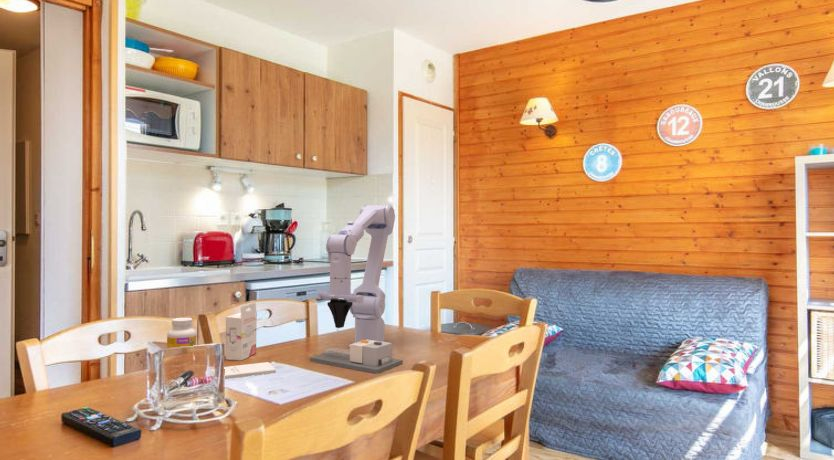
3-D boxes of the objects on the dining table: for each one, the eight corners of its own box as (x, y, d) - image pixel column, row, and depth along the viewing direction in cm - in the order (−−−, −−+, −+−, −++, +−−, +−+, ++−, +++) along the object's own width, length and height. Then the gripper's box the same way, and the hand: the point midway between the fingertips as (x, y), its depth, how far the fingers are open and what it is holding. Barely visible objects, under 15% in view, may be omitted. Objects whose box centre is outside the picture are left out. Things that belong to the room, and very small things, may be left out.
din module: (366, 355, 149) (366, 337, 149) (378, 357, 147) (378, 339, 147) (349, 361, 143) (350, 342, 142) (361, 363, 140) (362, 343, 140)
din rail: (333, 352, 153) (333, 347, 153) (389, 362, 143) (389, 356, 143) (324, 355, 150) (324, 349, 150) (381, 365, 140) (381, 359, 140)
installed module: (379, 358, 147) (379, 338, 147) (391, 360, 145) (392, 340, 145) (362, 364, 141) (363, 343, 140) (375, 366, 138) (375, 345, 138)
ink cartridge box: (240, 352, 155) (241, 301, 155) (256, 353, 154) (257, 302, 154) (224, 359, 147) (225, 305, 147) (241, 361, 146) (241, 306, 146)
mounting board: (338, 352, 157) (338, 349, 157) (402, 363, 146) (402, 359, 146) (310, 361, 147) (310, 357, 147) (376, 373, 136) (376, 369, 136)
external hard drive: (275, 375, 135) (223, 381, 129) (268, 367, 142) (217, 373, 136) (275, 369, 135) (223, 374, 129) (268, 361, 142) (218, 366, 136)
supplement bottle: (173, 375, 131) (174, 322, 131) (161, 370, 135) (162, 318, 135) (200, 370, 136) (201, 319, 136) (188, 365, 140) (189, 315, 140)
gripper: (310, 277, 149) (309, 326, 150) (352, 280, 142) (351, 332, 142) (327, 275, 155) (326, 322, 156) (368, 278, 148) (367, 328, 148)
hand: (339, 327), depth 149 cm, fingers closed
